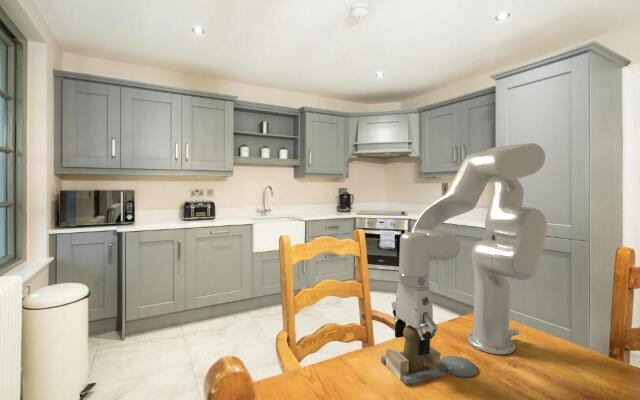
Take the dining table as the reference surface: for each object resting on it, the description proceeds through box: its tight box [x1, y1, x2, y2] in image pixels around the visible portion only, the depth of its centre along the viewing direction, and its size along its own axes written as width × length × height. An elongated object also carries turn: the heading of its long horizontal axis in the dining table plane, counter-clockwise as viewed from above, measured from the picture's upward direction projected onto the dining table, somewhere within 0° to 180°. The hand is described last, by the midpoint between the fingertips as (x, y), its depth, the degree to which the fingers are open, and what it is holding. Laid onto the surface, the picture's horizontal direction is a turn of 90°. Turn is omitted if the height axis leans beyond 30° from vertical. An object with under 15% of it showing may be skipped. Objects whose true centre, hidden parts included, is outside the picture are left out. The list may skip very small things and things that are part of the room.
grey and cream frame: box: [380, 345, 448, 386], centre depth 84 cm, size 12×11×4 cm
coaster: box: [440, 355, 478, 378], centre depth 84 cm, size 9×9×1 cm
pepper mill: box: [402, 324, 426, 375], centre depth 84 cm, size 6×6×11 cm
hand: (411, 344), depth 83 cm, fingers open, 9 cm apart
